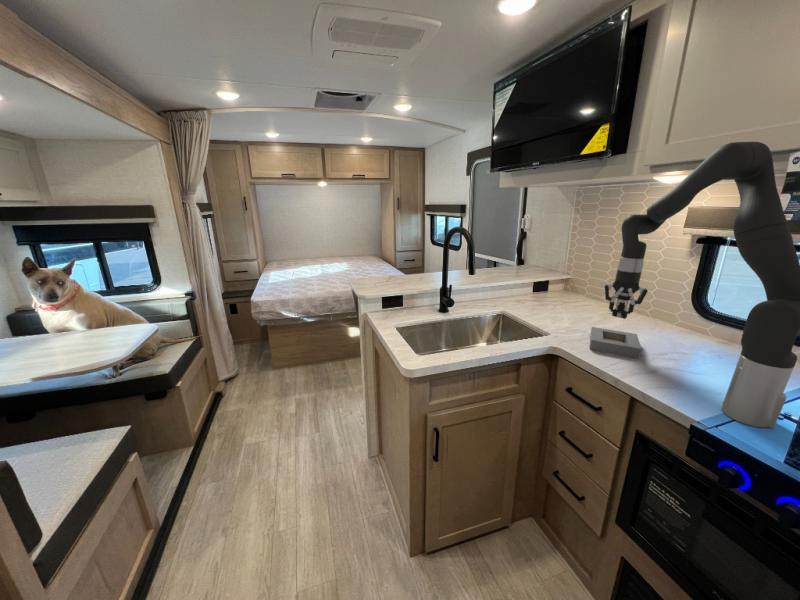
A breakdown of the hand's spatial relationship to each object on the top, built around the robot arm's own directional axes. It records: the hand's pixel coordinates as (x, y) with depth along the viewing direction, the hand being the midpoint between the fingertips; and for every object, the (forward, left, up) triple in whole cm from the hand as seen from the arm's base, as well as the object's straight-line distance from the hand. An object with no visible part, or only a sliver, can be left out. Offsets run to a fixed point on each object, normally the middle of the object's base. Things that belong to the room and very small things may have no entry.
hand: (620, 311), depth 124 cm
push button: (+1, 0, -2) cm, 2 cm away
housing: (0, 0, -15) cm, 15 cm away
